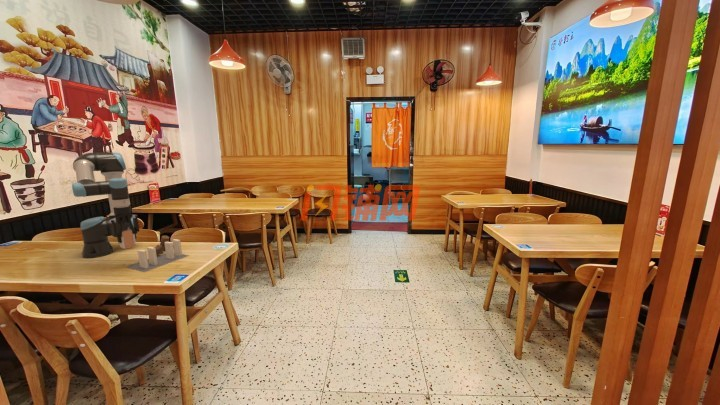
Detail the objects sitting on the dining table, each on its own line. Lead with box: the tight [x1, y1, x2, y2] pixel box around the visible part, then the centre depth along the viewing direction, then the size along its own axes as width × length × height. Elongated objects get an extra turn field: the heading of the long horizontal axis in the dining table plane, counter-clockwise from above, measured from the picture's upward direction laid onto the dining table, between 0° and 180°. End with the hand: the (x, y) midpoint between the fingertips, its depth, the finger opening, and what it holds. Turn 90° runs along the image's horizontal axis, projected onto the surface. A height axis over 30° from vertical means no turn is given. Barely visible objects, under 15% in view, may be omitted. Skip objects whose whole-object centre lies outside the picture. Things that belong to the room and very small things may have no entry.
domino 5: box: [171, 238, 183, 256], centre depth 180 cm, size 2×5×10 cm, turn 67°
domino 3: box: [146, 246, 158, 265], centre depth 167 cm, size 2×5×10 cm, turn 67°
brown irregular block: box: [153, 235, 170, 256], centre depth 187 cm, size 18×9×10 cm, turn 172°
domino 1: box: [121, 229, 135, 250], centre depth 164 cm, size 2×5×10 cm, turn 157°
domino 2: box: [137, 249, 149, 268], centre depth 162 cm, size 2×5×10 cm, turn 67°
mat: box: [124, 252, 190, 273], centre depth 172 cm, size 18×26×1 cm
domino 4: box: [164, 241, 174, 259], centre depth 176 cm, size 2×5×10 cm, turn 67°
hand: (128, 246), depth 164 cm, fingers closed on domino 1, 5 cm apart
